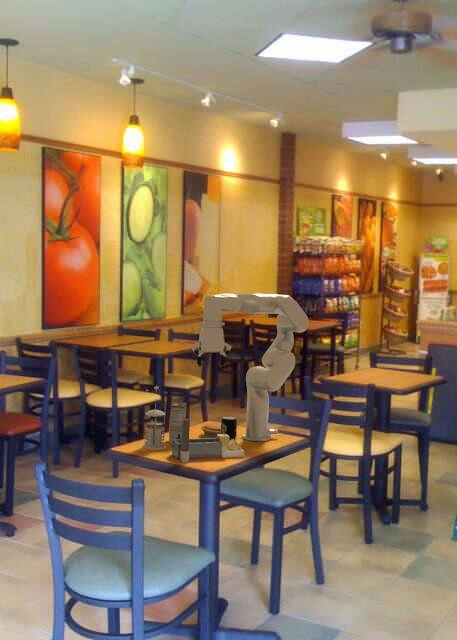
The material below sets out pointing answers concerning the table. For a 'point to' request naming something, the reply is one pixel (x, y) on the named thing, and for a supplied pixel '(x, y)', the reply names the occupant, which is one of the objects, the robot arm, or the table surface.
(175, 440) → the slot block
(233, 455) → the tray
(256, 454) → the table surface
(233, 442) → the wooden cube
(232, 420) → the beverage can
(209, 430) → the pie
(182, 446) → the grey rectangular bar
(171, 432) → the coffee box
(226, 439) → the tan cube
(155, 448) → the french press
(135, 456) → the table surface
